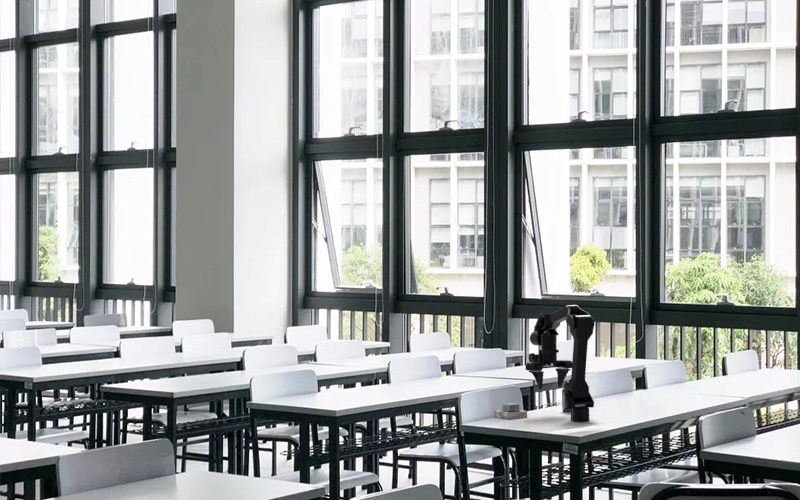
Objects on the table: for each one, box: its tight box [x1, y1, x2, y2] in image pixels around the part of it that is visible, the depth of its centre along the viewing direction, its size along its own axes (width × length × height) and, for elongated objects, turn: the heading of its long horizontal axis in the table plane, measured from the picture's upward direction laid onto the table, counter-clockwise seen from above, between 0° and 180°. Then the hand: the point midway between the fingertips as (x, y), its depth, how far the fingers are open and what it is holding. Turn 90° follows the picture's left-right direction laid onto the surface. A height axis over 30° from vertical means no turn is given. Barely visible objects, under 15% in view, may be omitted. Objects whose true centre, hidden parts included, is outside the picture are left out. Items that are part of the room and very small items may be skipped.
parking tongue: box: [520, 419, 547, 425], centre depth 381 cm, size 7×7×2 cm
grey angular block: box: [502, 402, 520, 413], centre depth 394 cm, size 4×4×5 cm
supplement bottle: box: [561, 382, 571, 413], centre depth 416 cm, size 6×6×11 cm
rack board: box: [492, 409, 528, 420], centre depth 393 cm, size 18×12×4 cm, turn 30°
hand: (549, 388), depth 402 cm, fingers open, 9 cm apart
